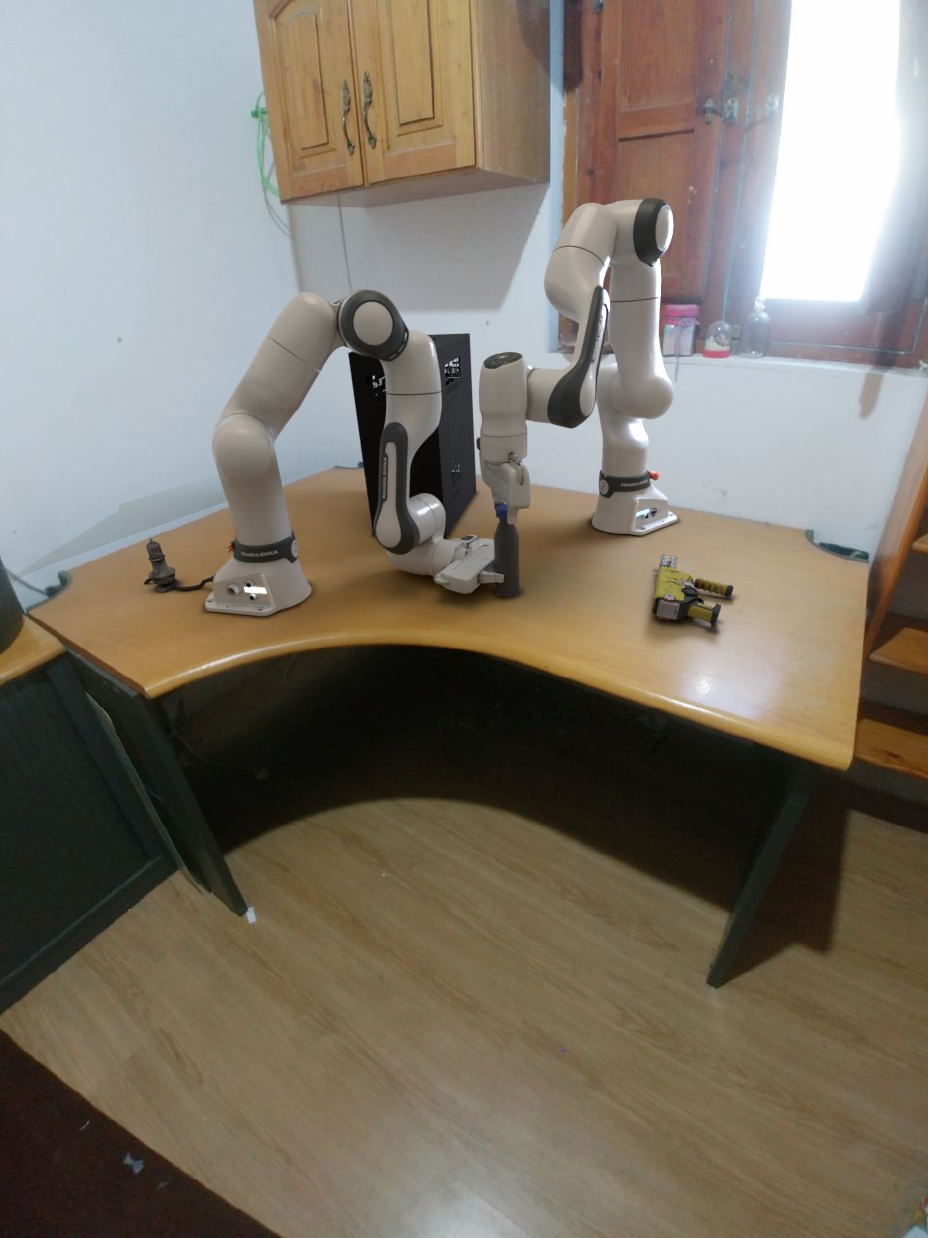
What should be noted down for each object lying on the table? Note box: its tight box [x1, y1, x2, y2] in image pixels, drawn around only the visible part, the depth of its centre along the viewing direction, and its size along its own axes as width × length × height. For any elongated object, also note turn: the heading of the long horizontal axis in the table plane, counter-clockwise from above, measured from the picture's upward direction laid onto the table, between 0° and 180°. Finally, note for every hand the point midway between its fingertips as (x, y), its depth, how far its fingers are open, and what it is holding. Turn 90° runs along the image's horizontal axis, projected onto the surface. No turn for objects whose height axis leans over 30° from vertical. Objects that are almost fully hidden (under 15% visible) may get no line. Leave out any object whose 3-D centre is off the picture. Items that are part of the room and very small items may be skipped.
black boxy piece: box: [347, 332, 477, 540], centre depth 163 cm, size 38×20×45 cm, turn 167°
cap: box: [495, 503, 508, 520], centre depth 120 cm, size 4×4×2 cm
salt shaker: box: [145, 538, 180, 593], centre depth 137 cm, size 6×6×12 cm
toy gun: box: [650, 553, 734, 628], centre depth 121 cm, size 5×24×15 cm
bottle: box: [493, 518, 520, 599], centre depth 125 cm, size 5×5×18 cm
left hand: (511, 571), depth 126 cm, fingers closed on bottle, 5 cm apart
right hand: (505, 516), depth 121 cm, fingers open, 6 cm apart
